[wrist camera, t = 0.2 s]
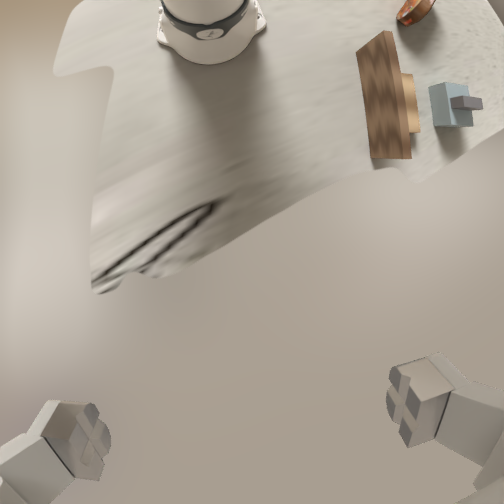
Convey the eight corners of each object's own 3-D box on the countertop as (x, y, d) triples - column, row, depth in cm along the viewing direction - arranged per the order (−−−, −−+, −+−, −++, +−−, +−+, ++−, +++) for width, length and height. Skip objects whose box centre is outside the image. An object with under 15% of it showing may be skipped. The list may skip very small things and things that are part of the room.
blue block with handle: (428, 87, 49) (457, 78, 39) (450, 89, 49) (480, 83, 40) (433, 126, 51) (464, 123, 42) (455, 127, 51) (486, 125, 42)
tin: (416, -14, 42) (435, -29, 34) (427, -4, 43) (447, -18, 35) (390, 23, 45) (410, 8, 37) (403, 33, 46) (424, 20, 38)
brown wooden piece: (355, 52, 47) (383, 30, 35) (400, 56, 47) (433, 38, 36) (370, 158, 53) (403, 159, 41) (414, 156, 53) (451, 158, 41)
